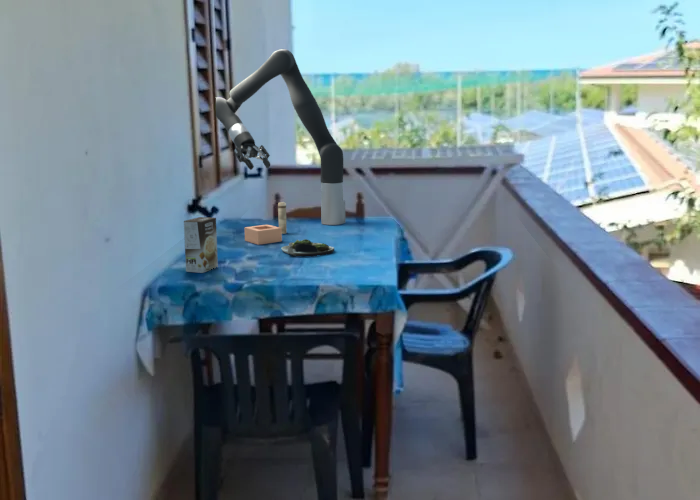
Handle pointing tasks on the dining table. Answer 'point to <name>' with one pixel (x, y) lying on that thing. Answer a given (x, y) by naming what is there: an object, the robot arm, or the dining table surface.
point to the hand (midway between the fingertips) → (260, 167)
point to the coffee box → (200, 244)
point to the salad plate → (307, 248)
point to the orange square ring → (263, 234)
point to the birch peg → (282, 216)
